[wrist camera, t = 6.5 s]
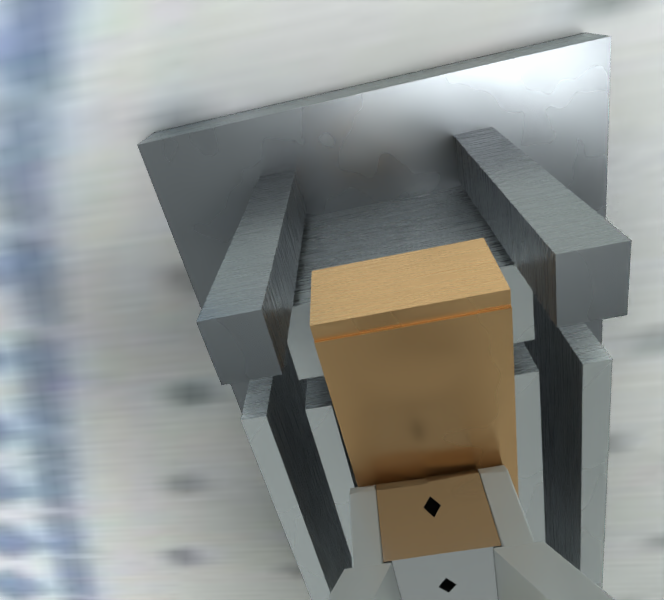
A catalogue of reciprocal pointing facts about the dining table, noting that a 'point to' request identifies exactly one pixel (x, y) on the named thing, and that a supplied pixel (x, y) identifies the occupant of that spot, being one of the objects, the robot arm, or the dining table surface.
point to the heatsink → (401, 237)
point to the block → (419, 361)
